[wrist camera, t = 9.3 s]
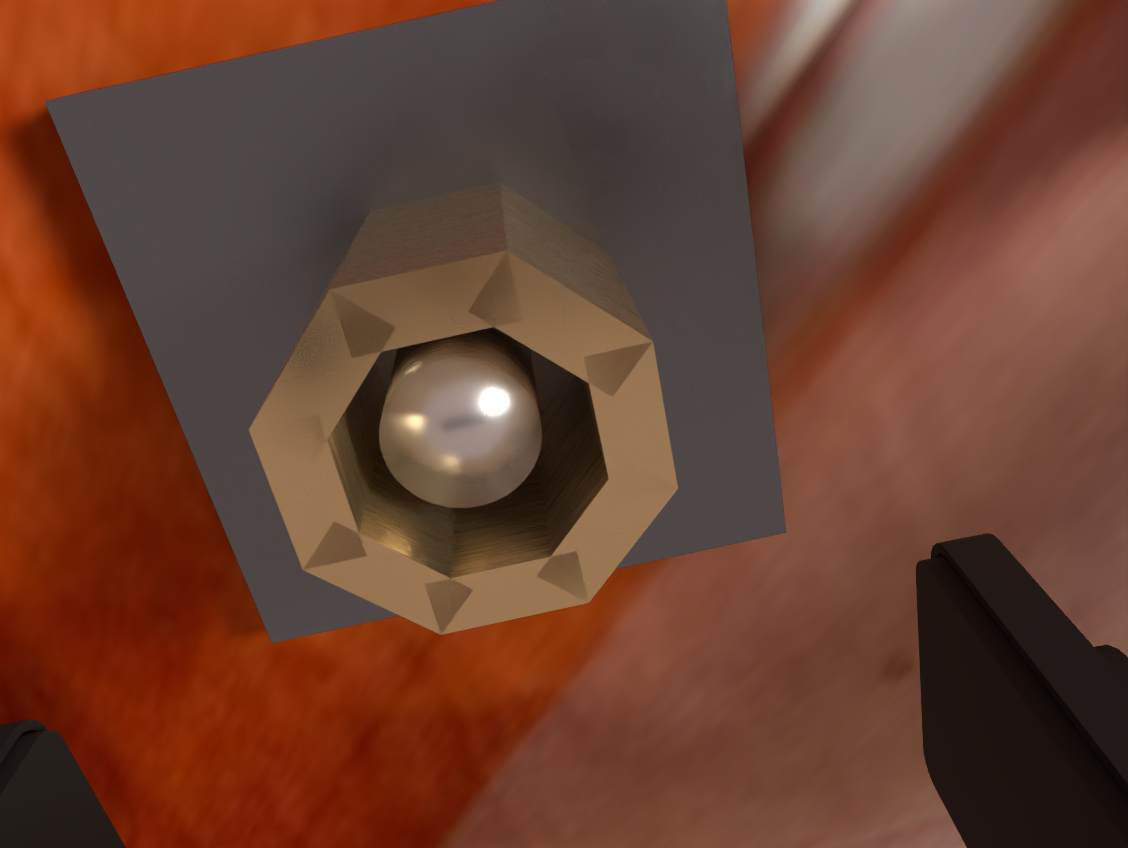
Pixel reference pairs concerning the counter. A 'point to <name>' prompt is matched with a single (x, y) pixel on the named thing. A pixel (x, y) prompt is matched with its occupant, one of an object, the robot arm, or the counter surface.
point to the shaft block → (424, 170)
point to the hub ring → (569, 420)
